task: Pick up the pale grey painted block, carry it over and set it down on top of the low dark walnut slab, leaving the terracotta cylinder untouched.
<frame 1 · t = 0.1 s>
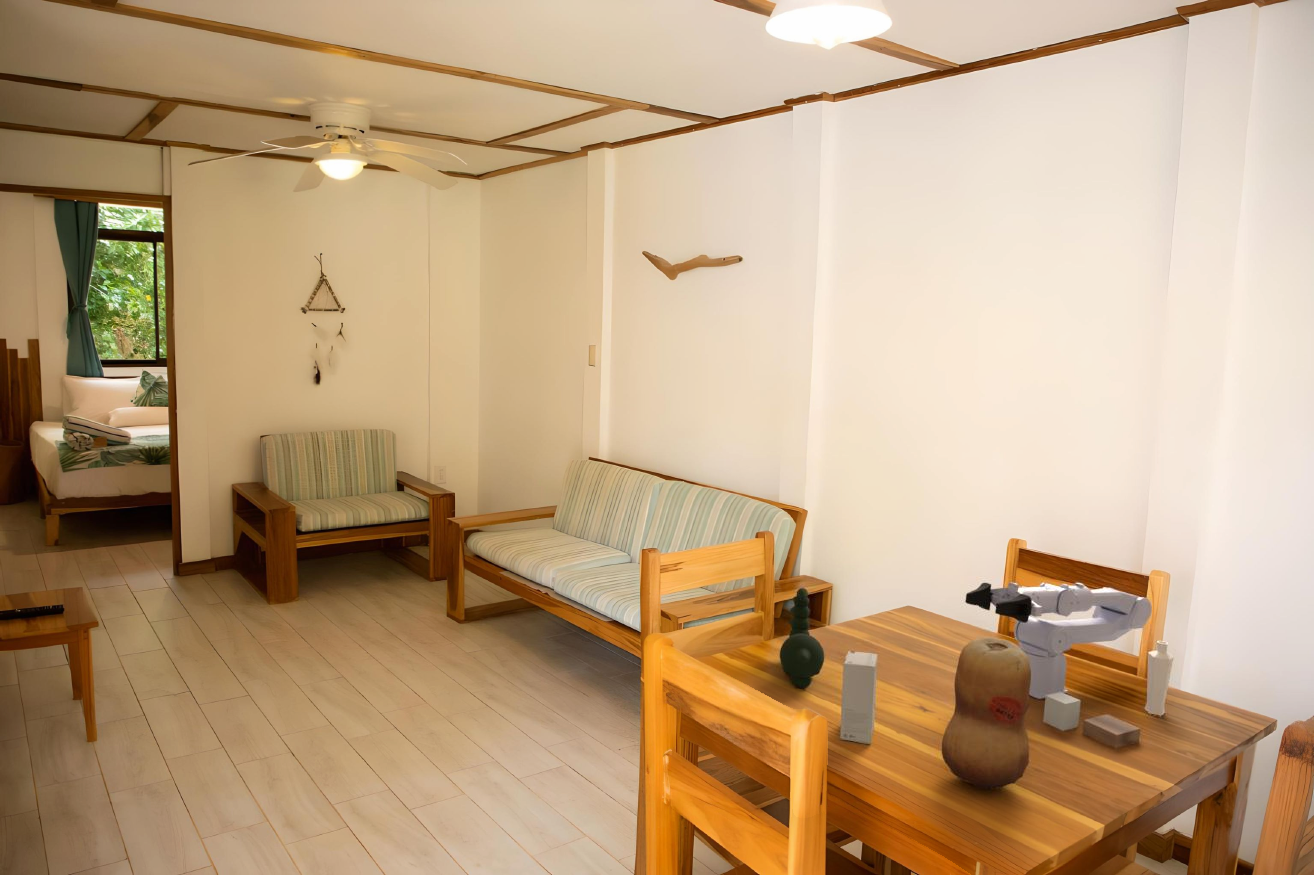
hand: (981, 603, 182), 22 cm above the table, tool horizontal, fingers open, 7 cm apart
toy figurine: (799, 676, 196), on the table
butternut squash: (982, 785, 151), on the table
perfume bottle: (1154, 712, 184), on the table
terracotta cylinder: (1011, 720, 177), on the table
grey block: (1060, 724, 176), on the table
skincare box: (856, 734, 168), on the table
walnut slab: (1110, 739, 171), on the table
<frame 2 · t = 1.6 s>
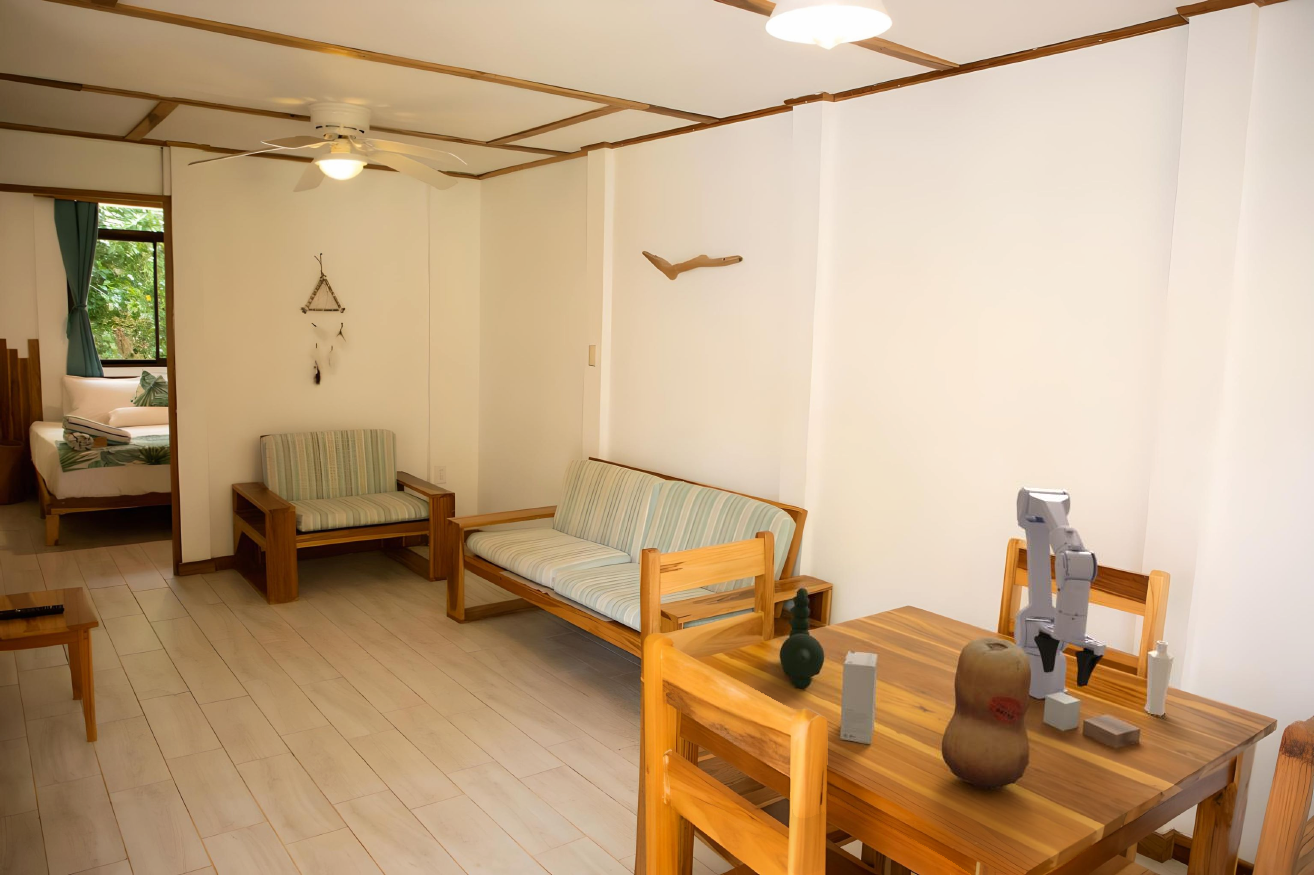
hand: (1064, 678, 175), 9 cm above the table, tool pointing down, fingers open, 7 cm apart
nothing on the table moved.
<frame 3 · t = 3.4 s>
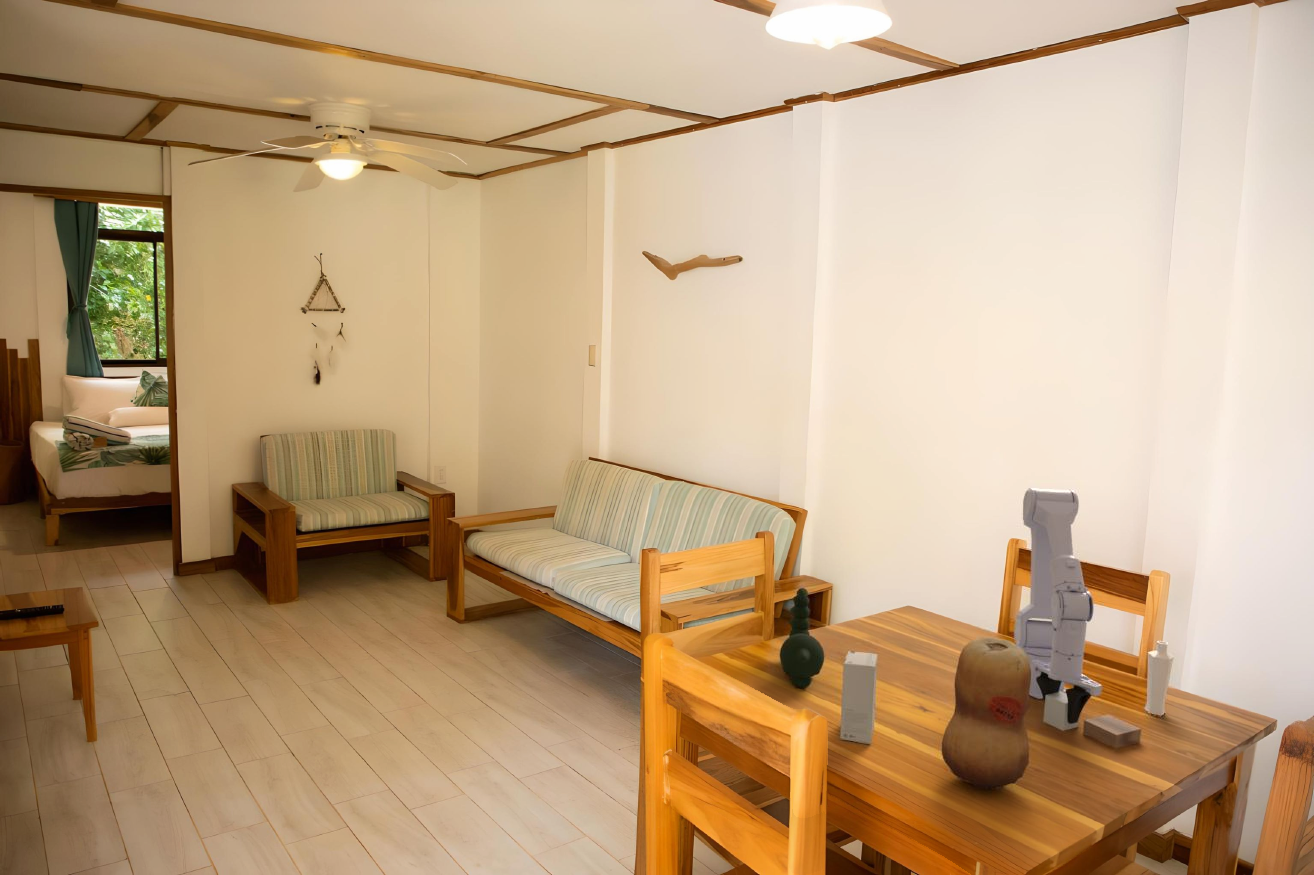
hand: (1061, 717, 176), 1 cm above the table, tool pointing down, fingers closed on grey block, 4 cm apart
grey block: (1060, 724, 176), on the table, touching gripper
everything else where it was.
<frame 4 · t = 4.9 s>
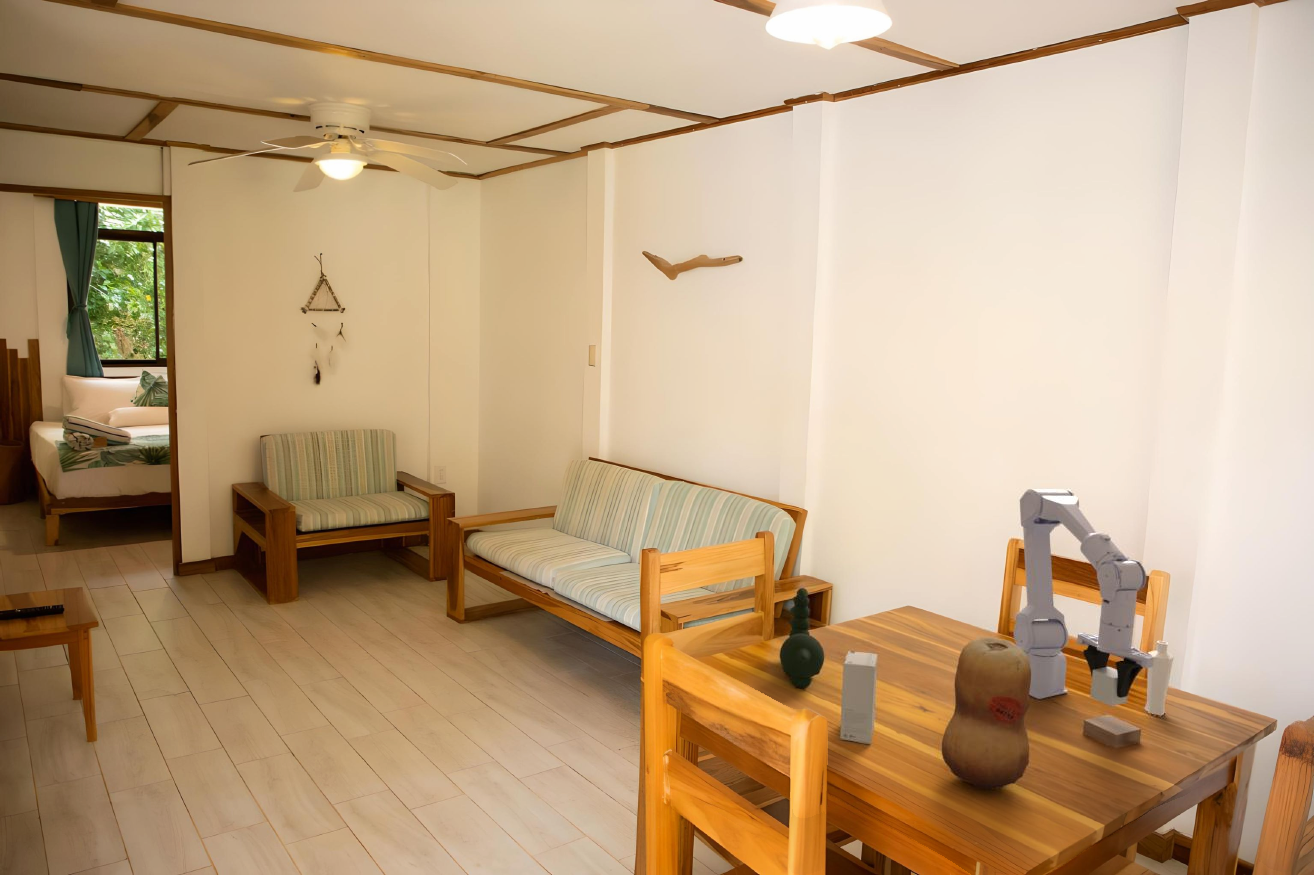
hand: (1109, 691, 171), 9 cm above the table, tool pointing down, fingers closed on grey block, 4 cm apart
grey block: (1108, 699, 171), point 7 cm above the table, touching gripper
everything else where it was.
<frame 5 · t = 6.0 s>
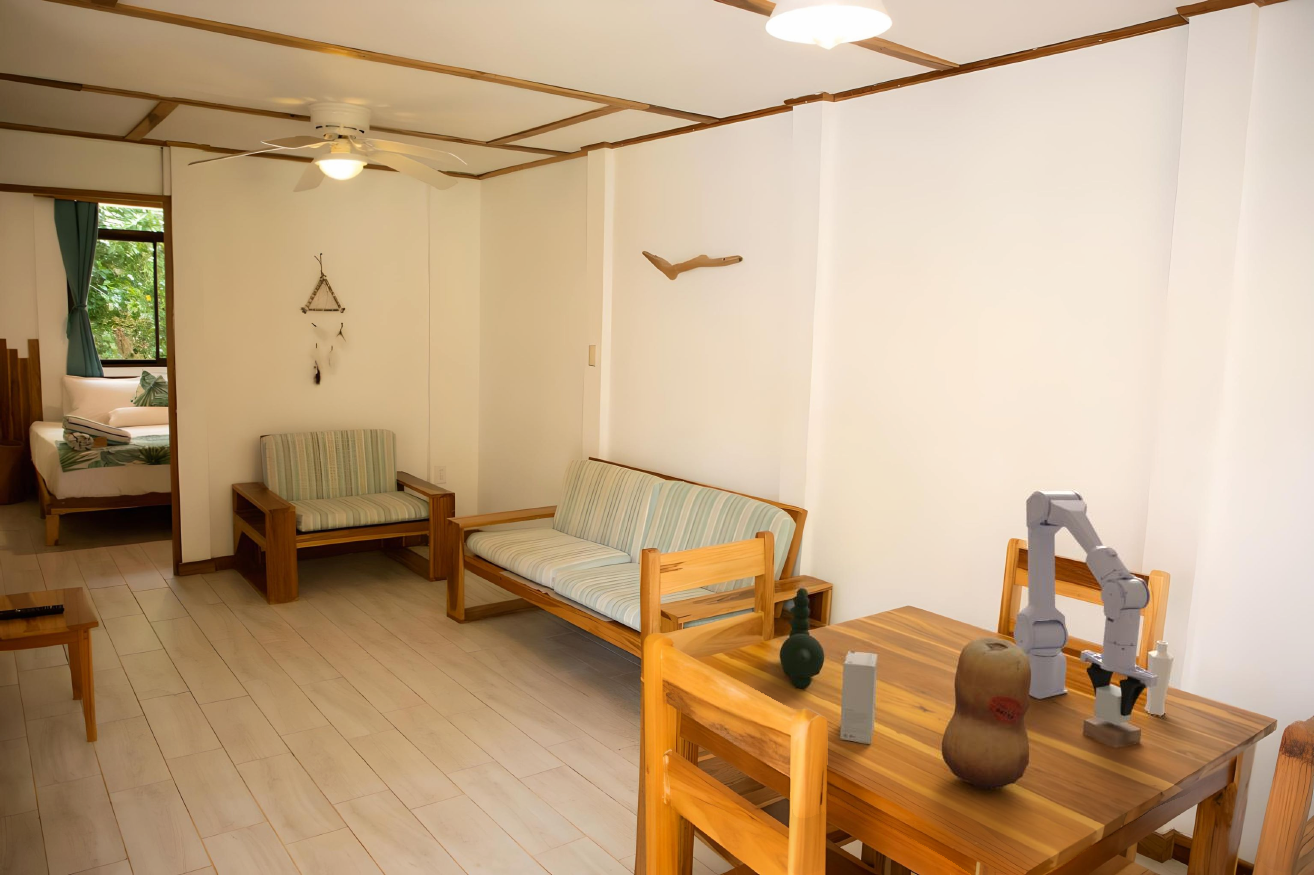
hand: (1113, 709, 170), 6 cm above the table, tool pointing down, fingers closed on grey block, 4 cm apart
grey block: (1111, 717, 171), point 4 cm above the table, touching gripper
everything else where it was.
when the fingers open (6 cm above the table, at t = 6.5 s): grey block drops 1 cm, point 3 cm above the table.
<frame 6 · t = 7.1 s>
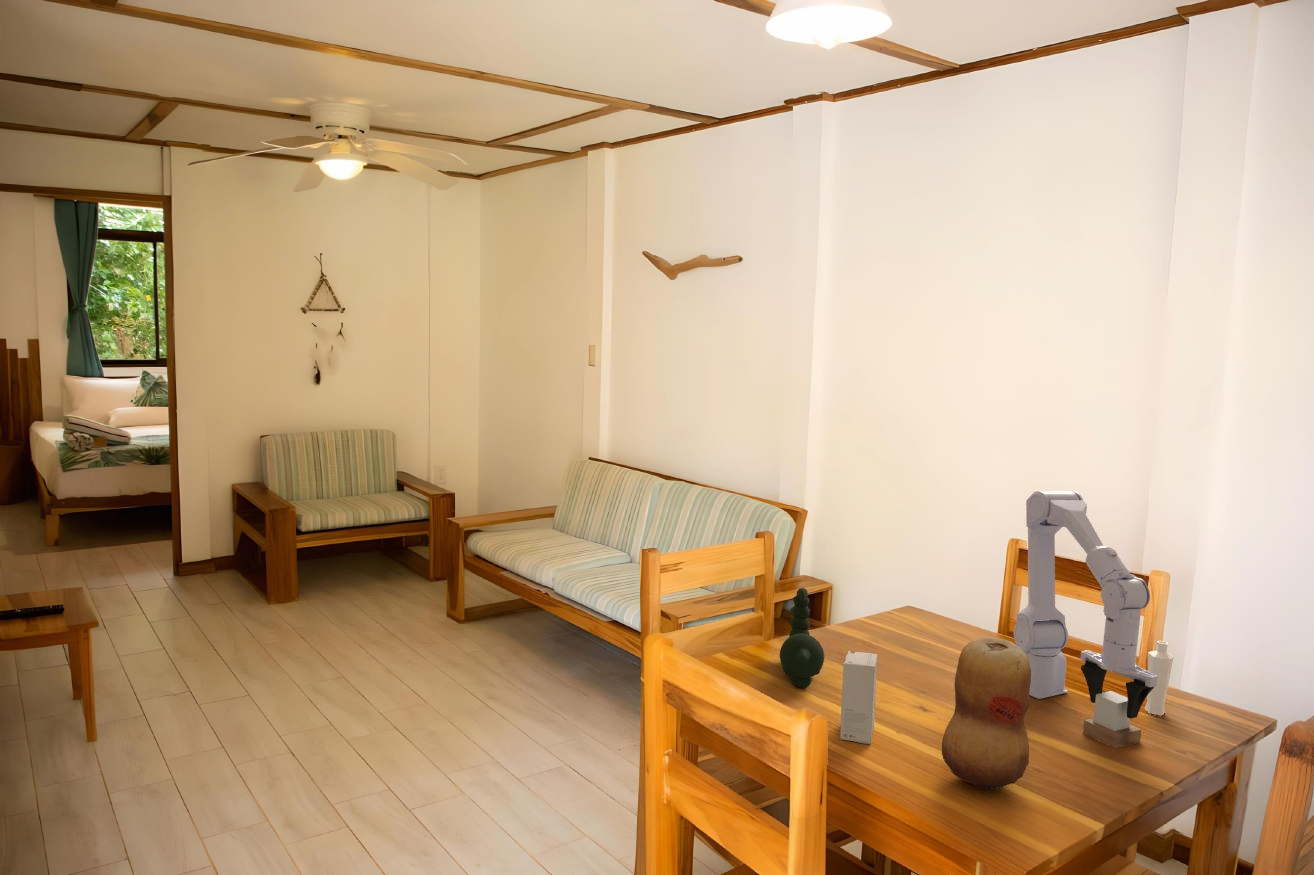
hand: (1113, 709, 170), 6 cm above the table, tool pointing down, fingers open, 7 cm apart
grey block: (1111, 724, 171), point 3 cm above the table
everything else where it was.
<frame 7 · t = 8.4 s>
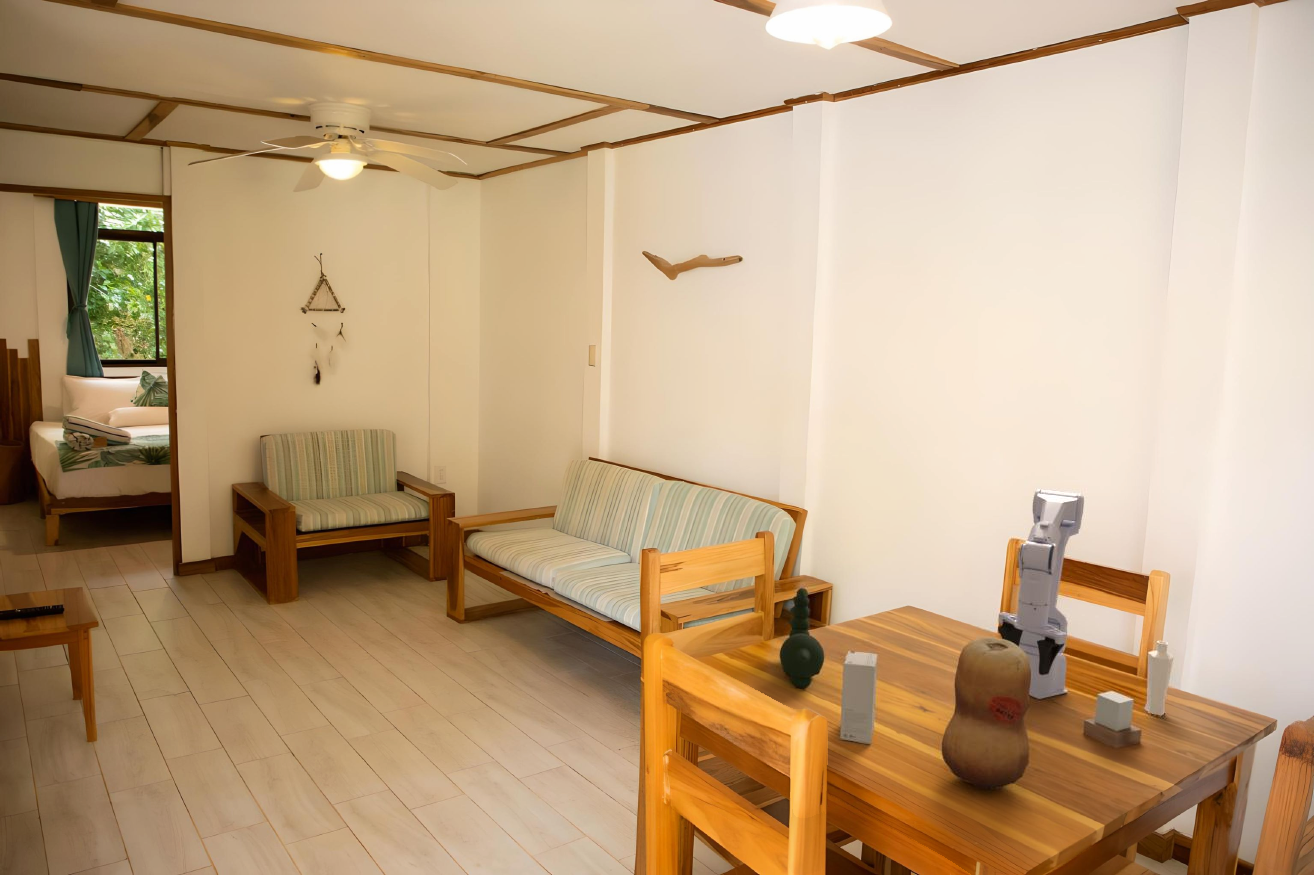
hand: (1027, 667, 179), 10 cm above the table, tool pointing down, fingers open, 7 cm apart
nothing on the table moved.
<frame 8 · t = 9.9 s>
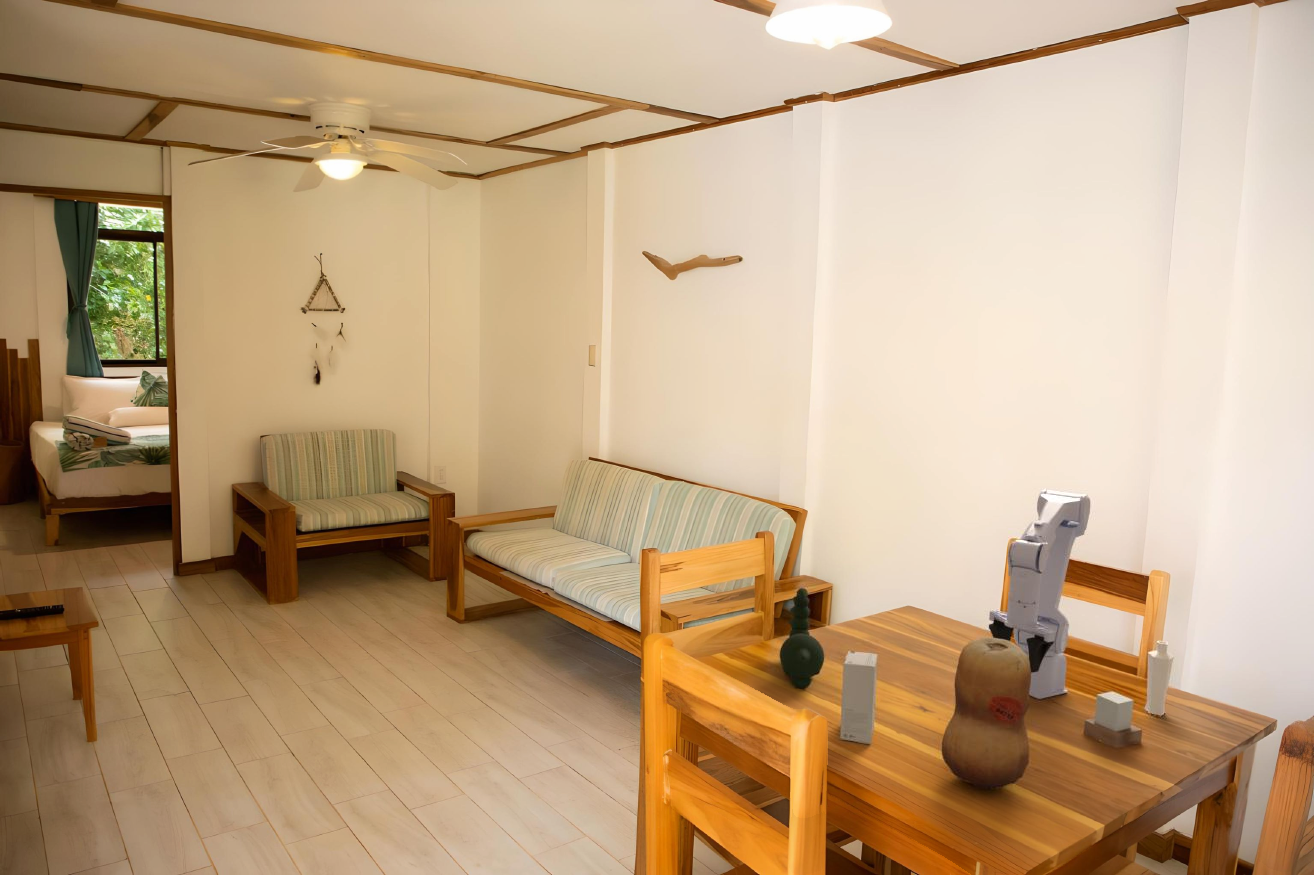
hand: (1017, 664, 180), 10 cm above the table, tool pointing down, fingers open, 7 cm apart
grey block: (1112, 724, 171), point 3 cm above the table, touching walnut slab
walnut slab: (1111, 739, 171), on the table, touching grey block
everything else where it was.
at the end: grey block 0.3 cm off-centre on the walnut slab, point 3.1 cm above the walnut slab's base; grey block tilted 0°; the gripper is holding nothing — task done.
